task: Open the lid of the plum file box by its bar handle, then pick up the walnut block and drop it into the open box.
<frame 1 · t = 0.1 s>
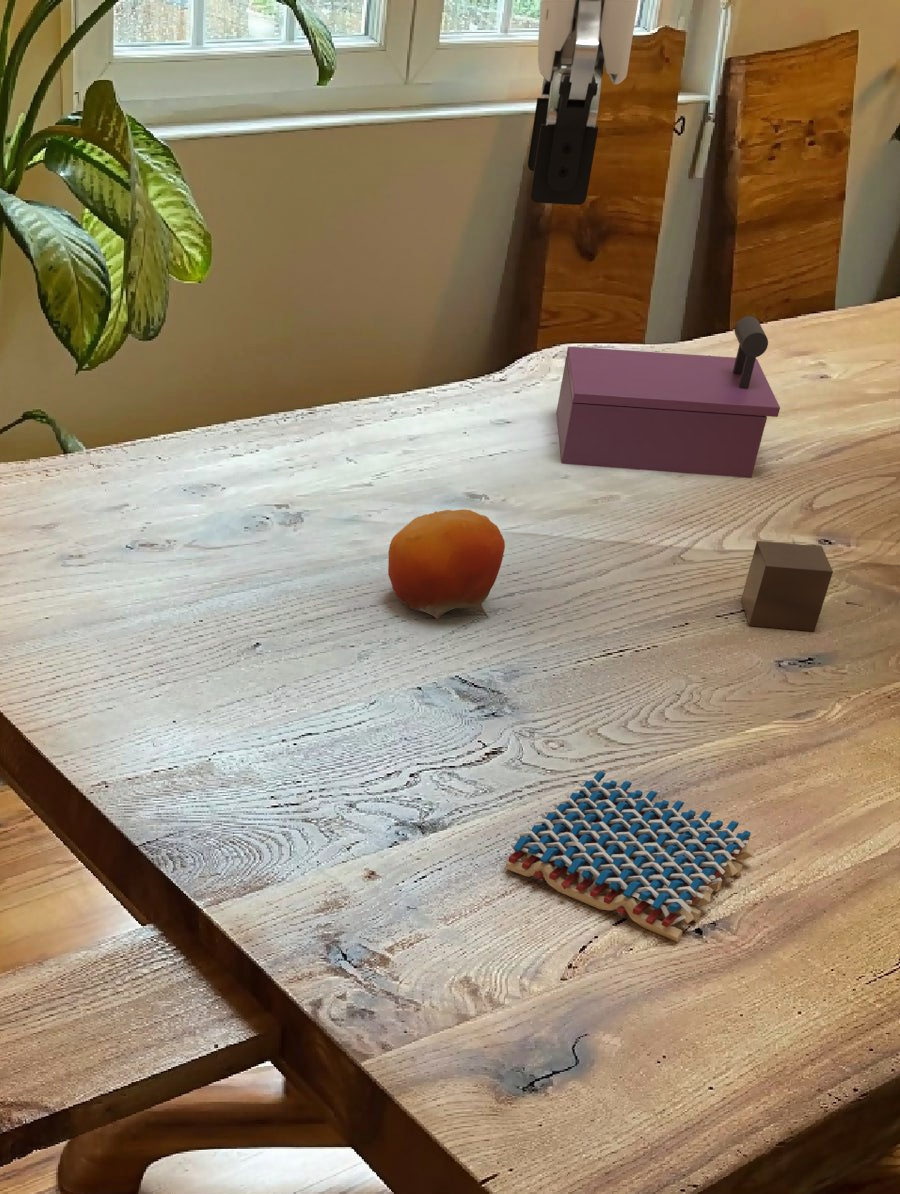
hand: (554, 186, 90), 27 cm above the table, tool pointing down, fingers open, 9 cm apart
woven mat: (625, 869, 80), on the table
block: (776, 615, 106), on the table
file box: (644, 464, 130), on the table
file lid: (673, 352, 124), point 10 cm above the table, hinge at 0.0°
fruit: (439, 605, 106), on the table
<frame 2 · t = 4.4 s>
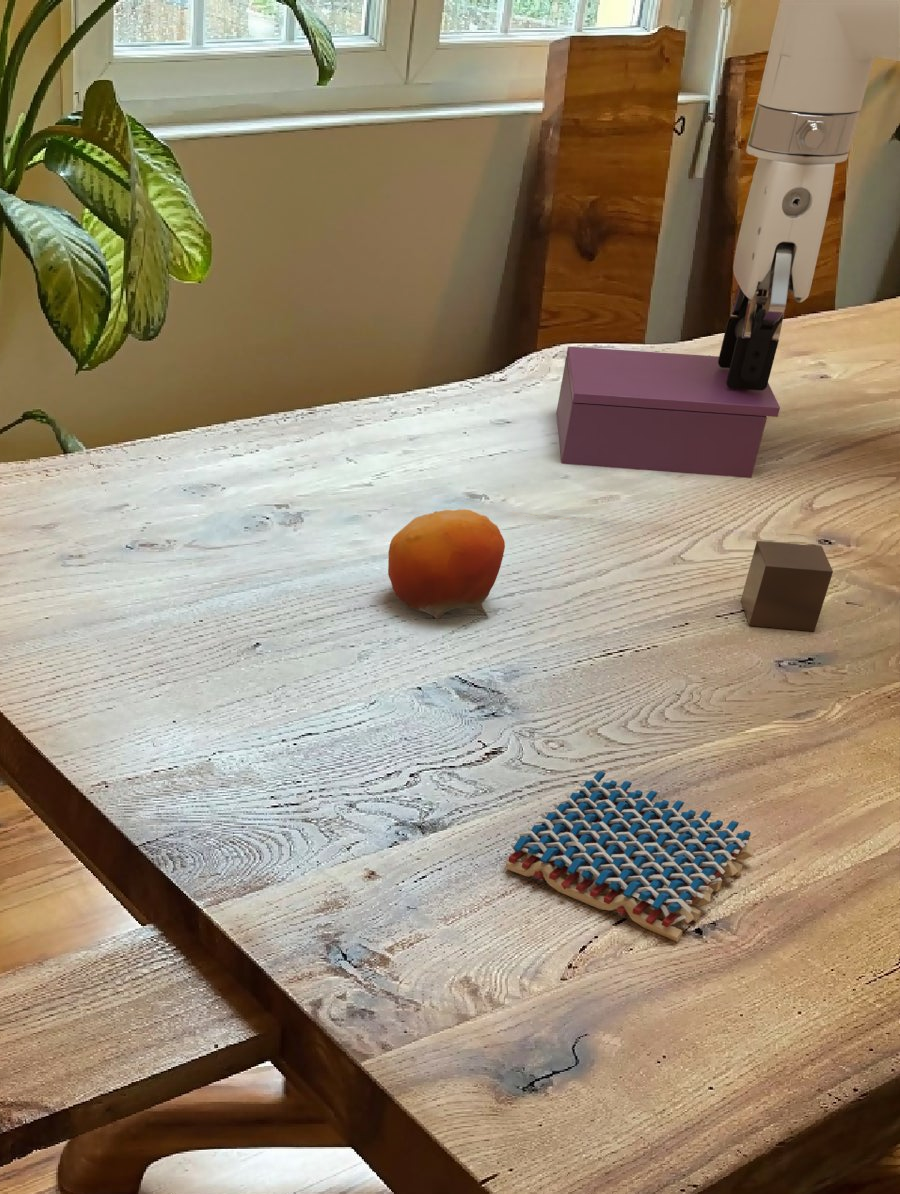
hand: (741, 375, 124), 8 cm above the table, tool pointing down, fingers closed on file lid, 5 cm apart
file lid: (673, 352, 124), point 9 cm above the table, hinge at 0.0°, touching gripper
everything else where it was.
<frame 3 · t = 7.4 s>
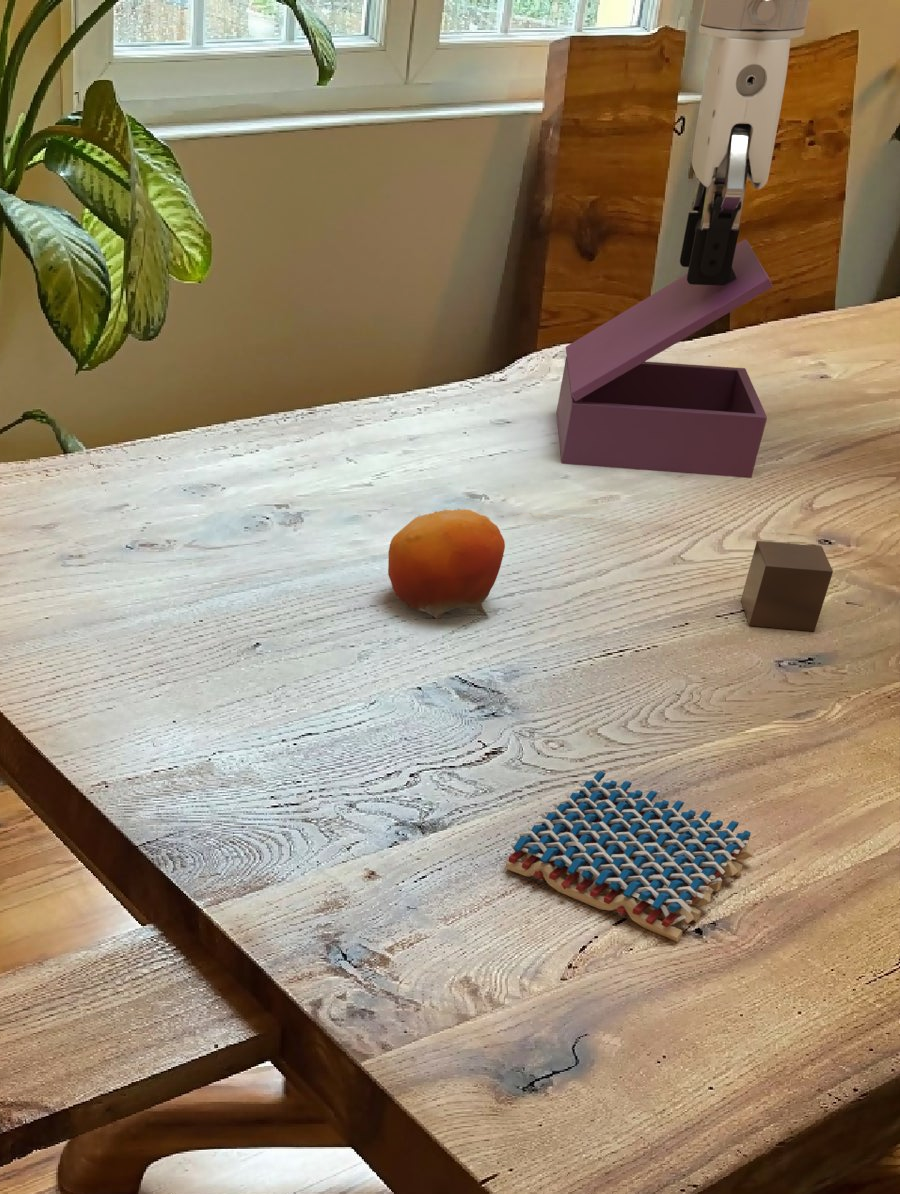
hand: (703, 272, 120), 16 cm above the table, tool pointing down, fingers closed on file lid, 5 cm apart
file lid: (650, 294, 122), point 14 cm above the table, hinge at 36.0°, touching gripper
everything else where it was.
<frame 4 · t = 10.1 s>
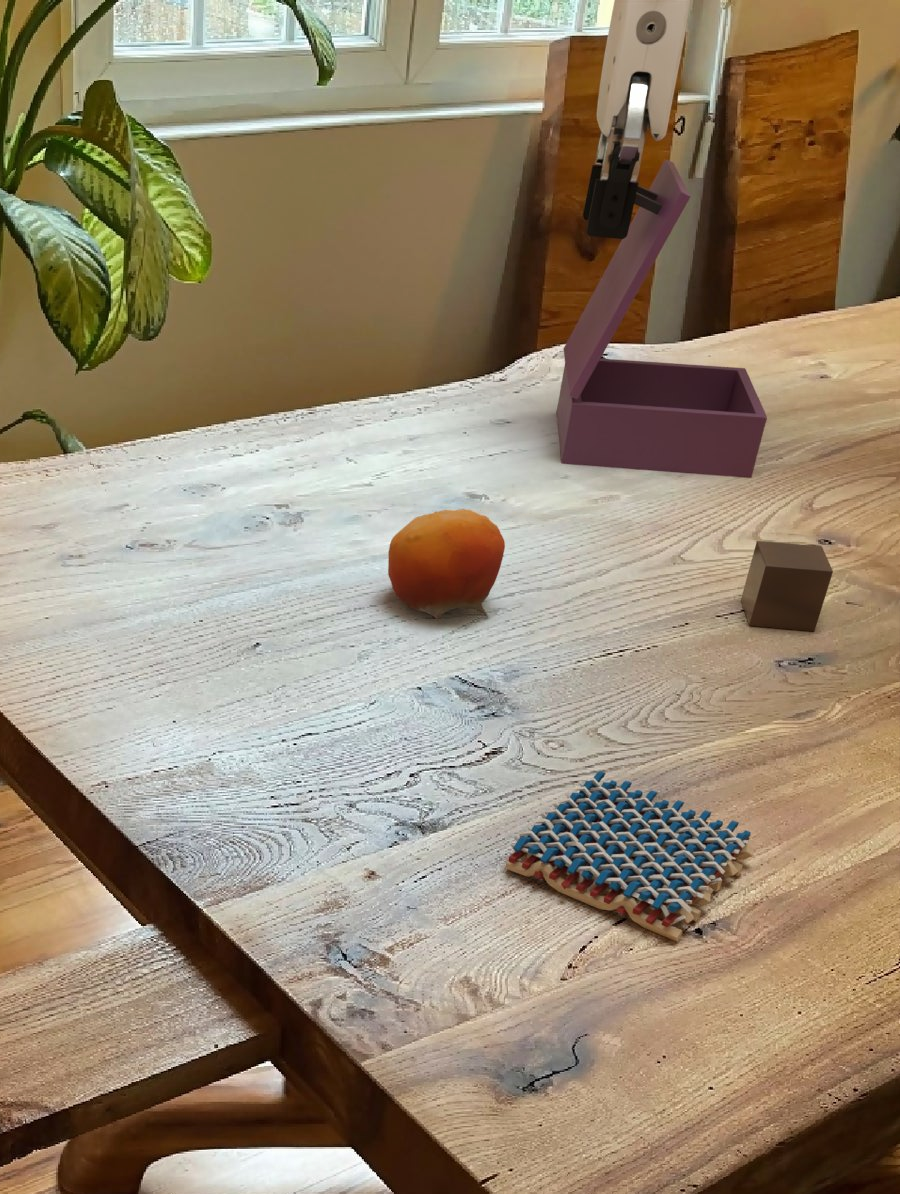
hand: (604, 226, 119), 19 cm above the table, tool pointing down, fingers closed on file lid, 5 cm apart
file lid: (597, 267, 121), point 16 cm above the table, hinge at 70.1°, touching gripper
everything else where it was.
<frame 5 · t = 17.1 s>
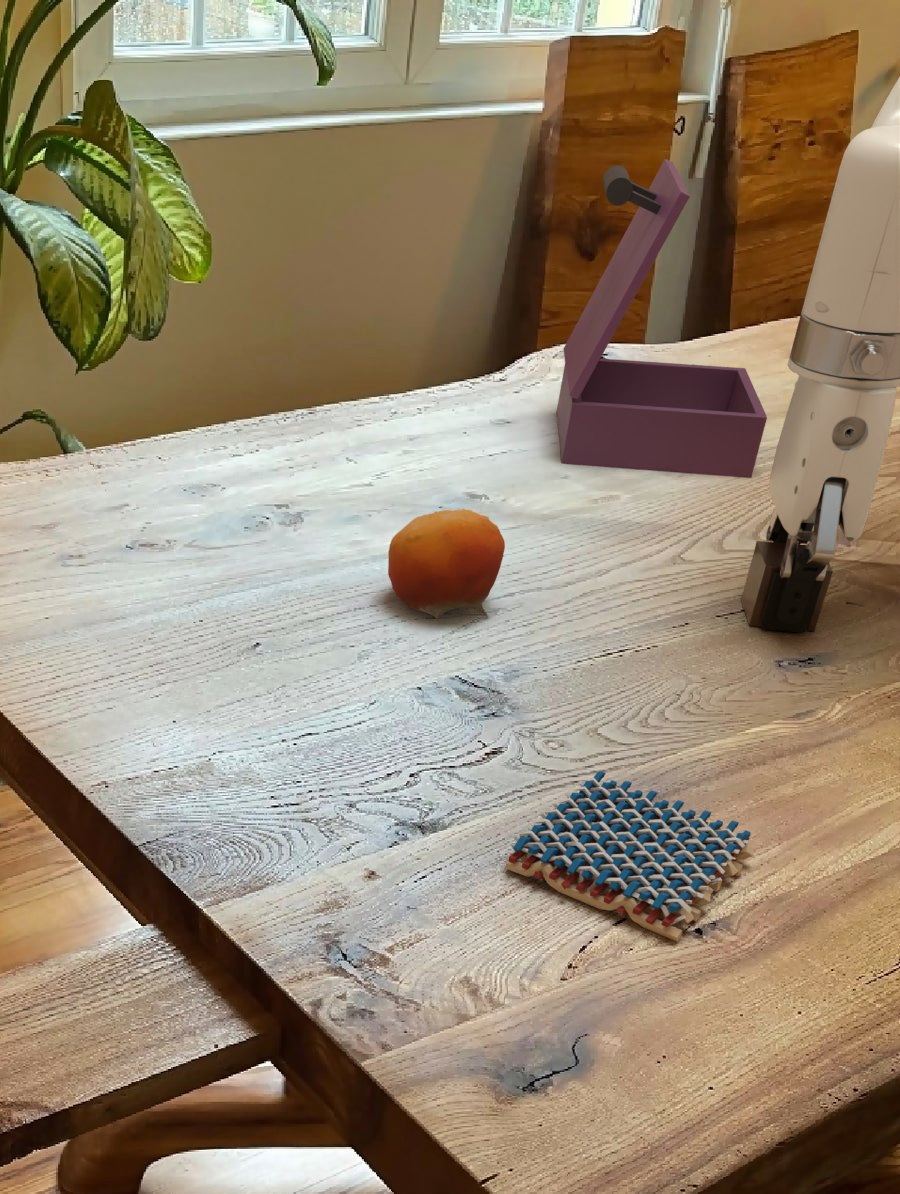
hand: (778, 610, 106), 0 cm above the table, tool pointing down, fingers closed on block, 4 cm apart
block: (776, 615, 106), on the table, touching gripper
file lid: (596, 267, 121), point 16 cm above the table, hinge at 70.3°
everything else where it was.
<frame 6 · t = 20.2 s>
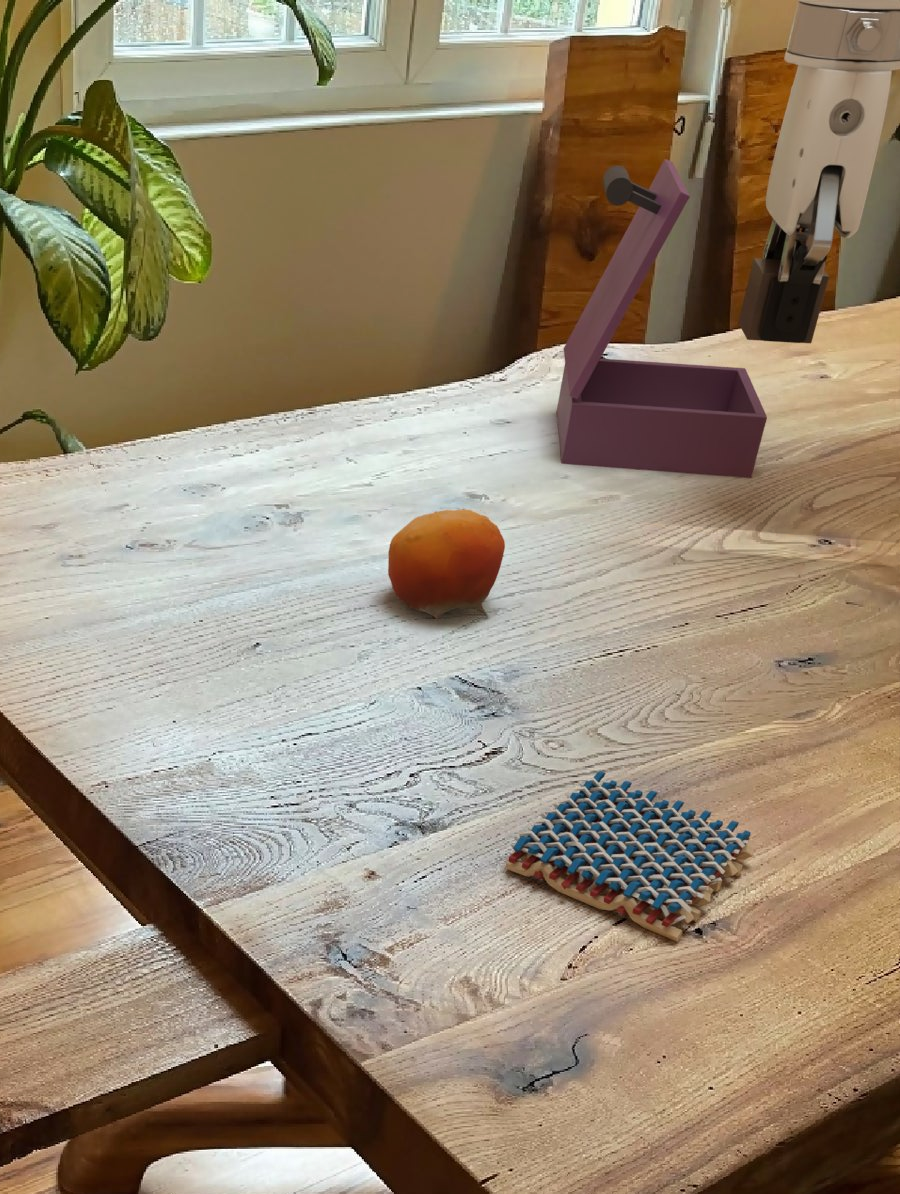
hand: (775, 327, 108), 16 cm above the table, tool pointing down, fingers closed on block, 4 cm apart
block: (773, 333, 108), point 15 cm above the table, touching gripper
everything else where it was.
when the fingers open (10 cm above the table, at t = 23.2 s): block drops 9 cm, resting on file box.
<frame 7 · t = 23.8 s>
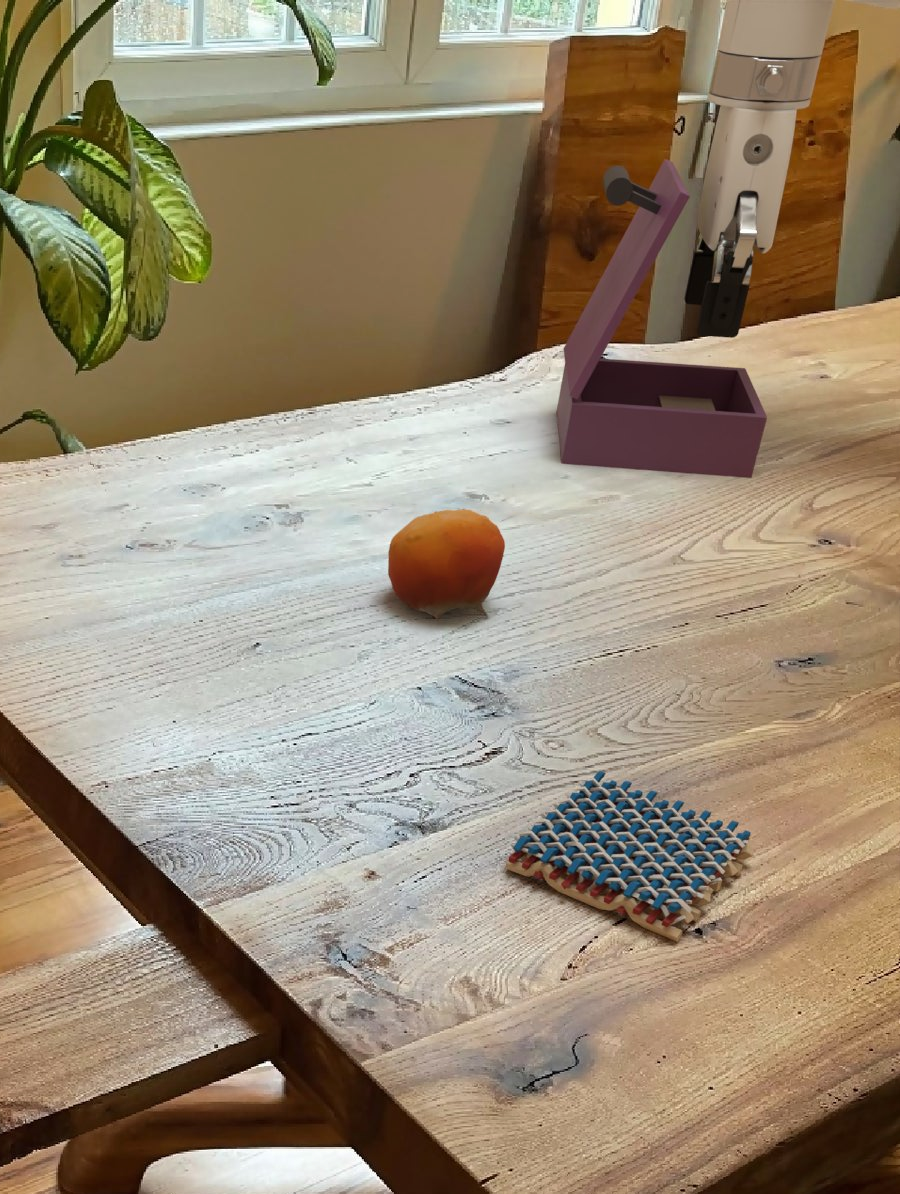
hand: (709, 319, 122), 12 cm above the table, tool pointing down, fingers open, 9 cm apart
block: (675, 457, 129), point 1 cm above the table, touching file box
everything else where it was.
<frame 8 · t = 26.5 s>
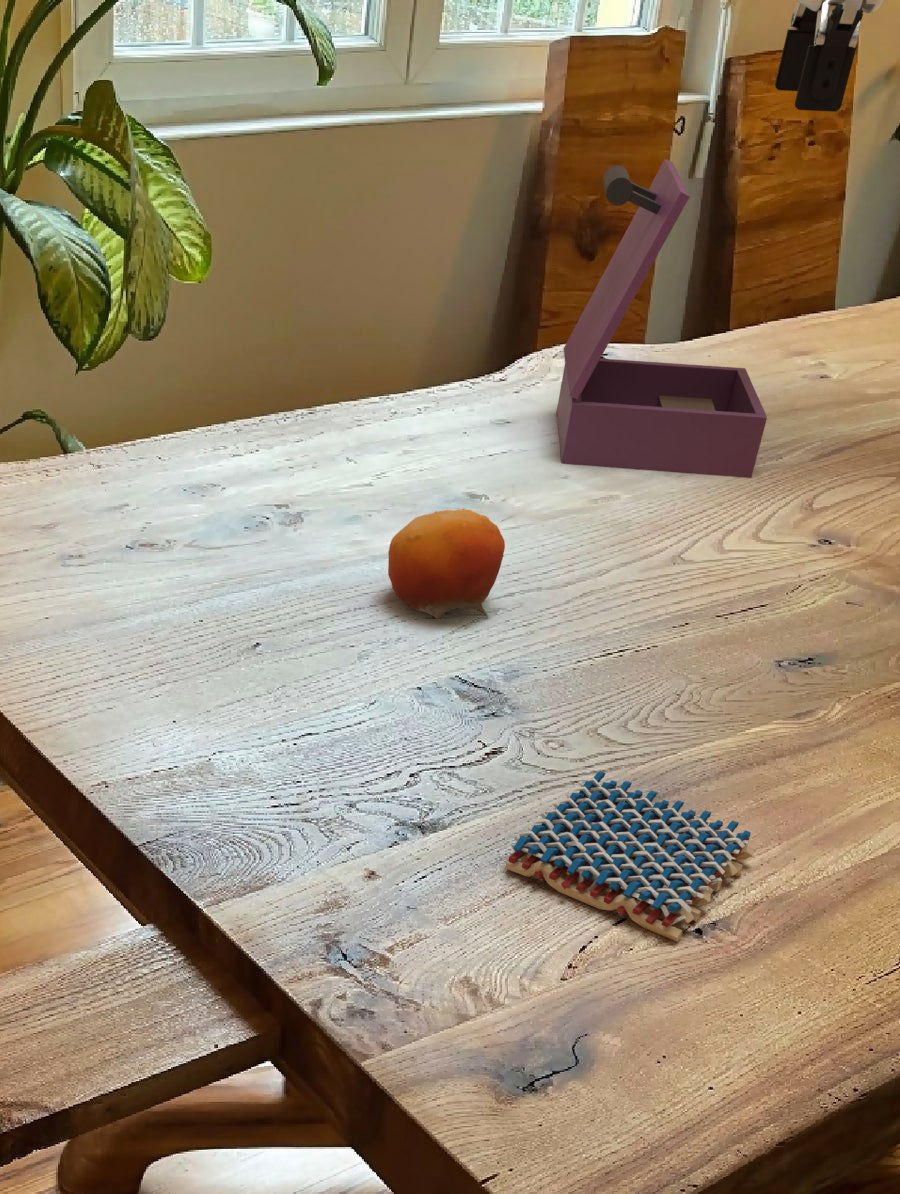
hand: (805, 99, 112), 28 cm above the table, tool pointing down, fingers open, 9 cm apart
nothing on the table moved.
at the end: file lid at +70° (first picture: +0°); block inside the target area in the file box (2.5 cm from its centre), point 0.8 cm above the file box's base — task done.
